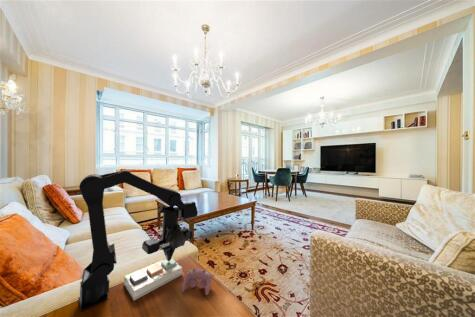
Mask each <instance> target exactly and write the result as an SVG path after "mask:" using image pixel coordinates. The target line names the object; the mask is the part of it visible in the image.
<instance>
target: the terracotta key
mask: <svg viewBox="0 0 475 317" xmlns="http://www.w3.org/2000/svg"><path fill="white" fill-rule="evenodd" d="M162 272H163V268H162V267H161V266H160V265H159V264H155V265H153V266H151V267H148V268H147V272H146V273H147V274H148V275H149V276H150V277H153V276H155V275H157V274H160V273H162Z"/></svg>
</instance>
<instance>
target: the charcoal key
mask: <svg viewBox="0 0 475 317" xmlns="http://www.w3.org/2000/svg"><path fill="white" fill-rule="evenodd" d="M147 278H148V275H147V274H146V273H145V272H144V270H141V271H139V272H137V273H134V274H132V275H130V281H131V283H132V284H133V286H135V285H137V284H139V283H141V282H143V281H145V280H147Z"/></svg>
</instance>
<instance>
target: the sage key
mask: <svg viewBox="0 0 475 317" xmlns="http://www.w3.org/2000/svg"><path fill="white" fill-rule="evenodd" d="M176 262H177V261H176V260H175V259H174V258H173V257H172V258H171V260H170V261H167V260H164V261H162V262H161V266H162V267H163V268H164V269H165V270H168V269H170V268H172V267H174V266H176Z"/></svg>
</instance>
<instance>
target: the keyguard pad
mask: <svg viewBox="0 0 475 317" xmlns="http://www.w3.org/2000/svg"><path fill="white" fill-rule="evenodd" d="M164 260H167V259H166V257H165V258H163V259H161V260H158V261H156V262H154V263H152V264H150V265H147V266H144V267H142V268H139V269H137V270H136V271H132V272H130V273H128V274H126V275H124V277H123V285H124V287H125V288H126V290H127V291H128V293H129V295H130V297H131V298H132V300H133V301H136V300H137V299H140V298H141V297H143V296H146V295H147V294H149V293H151V292H152V291H154V290H157V289H159V287H160V288H161V287H162V286H164V285H166V284H167V283H169V282H171V281H173V280H175V279H177V278H178V277H181V276H182V274H183V266H181V265H180V264H179V263H178V262H177V261H176V266H174V267H172V268H170V269H168V270H165V269H164V268H163V267H162V266H161V262H162V261H164ZM155 264H159V265H160V266H161V267H162V268H163V272H162V273H160V274H157V275H155V276H153V277H150V276H149V275H148V274H147V273H146V272H147V268H148V267H151V266H153V265H155ZM141 270H144V272H145V273H146V274H147V275H148V278H147V280H145V281H143V282H141V283H139V284H137V285H135V286H133V284H132V283H131V281H130V275H132V274H134V273H137V272H139V271H141Z"/></svg>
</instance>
